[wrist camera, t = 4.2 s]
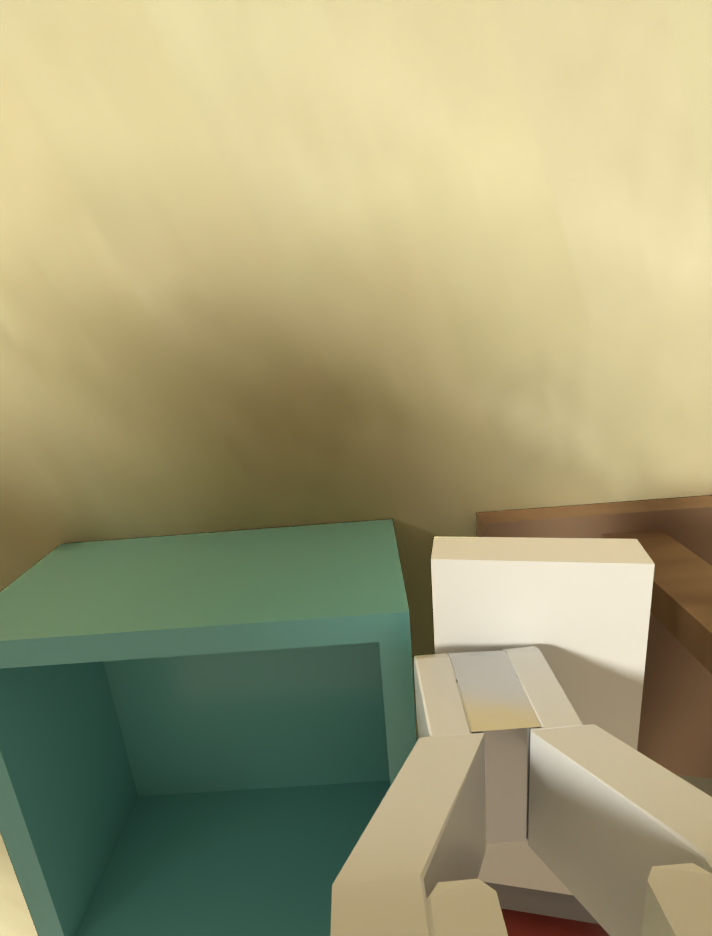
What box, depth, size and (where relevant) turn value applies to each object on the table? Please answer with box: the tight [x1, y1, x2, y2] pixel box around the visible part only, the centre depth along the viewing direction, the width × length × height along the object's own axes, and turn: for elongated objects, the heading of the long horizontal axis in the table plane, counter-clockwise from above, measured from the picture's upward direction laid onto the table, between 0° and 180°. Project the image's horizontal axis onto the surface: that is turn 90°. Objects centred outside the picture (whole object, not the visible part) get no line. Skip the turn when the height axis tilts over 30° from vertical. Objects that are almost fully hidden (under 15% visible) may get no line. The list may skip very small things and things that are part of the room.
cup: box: [0, 519, 417, 936], centre depth 18 cm, size 12×12×6 cm
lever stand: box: [477, 495, 712, 778], centre depth 15 cm, size 10×12×10 cm
